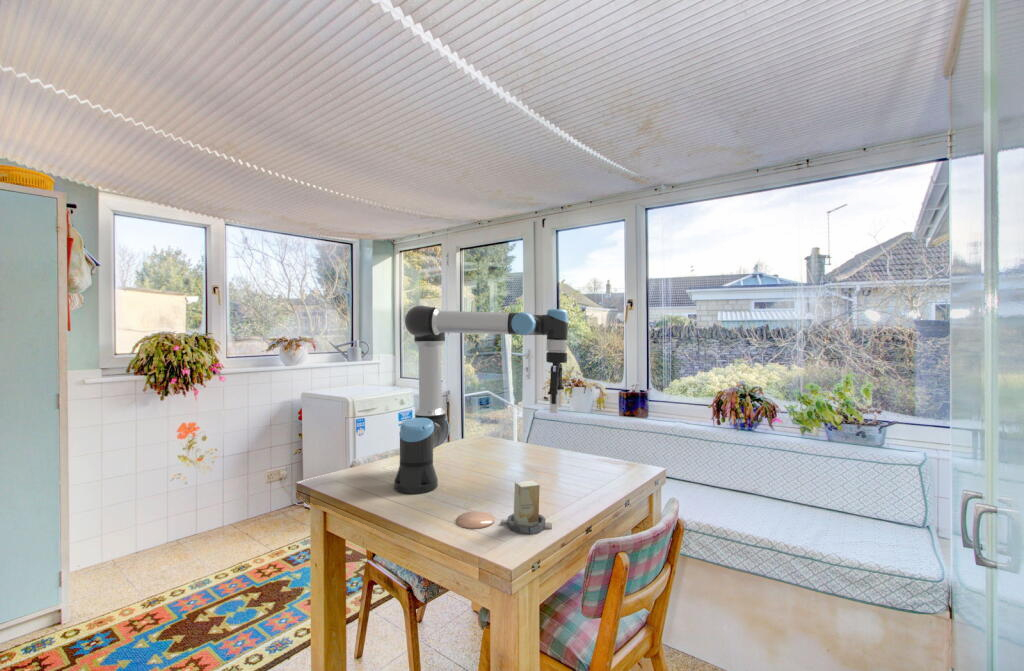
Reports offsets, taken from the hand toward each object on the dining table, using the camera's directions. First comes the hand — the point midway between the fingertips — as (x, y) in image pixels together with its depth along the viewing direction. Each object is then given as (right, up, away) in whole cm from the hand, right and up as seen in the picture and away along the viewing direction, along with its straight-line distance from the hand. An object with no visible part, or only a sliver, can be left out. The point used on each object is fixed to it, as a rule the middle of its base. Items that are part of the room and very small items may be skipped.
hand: (555, 410), depth 165 cm
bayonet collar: (-12, -27, -36) cm, 46 cm away
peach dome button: (-27, -27, -33) cm, 50 cm away
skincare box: (-12, -27, -36) cm, 46 cm away
